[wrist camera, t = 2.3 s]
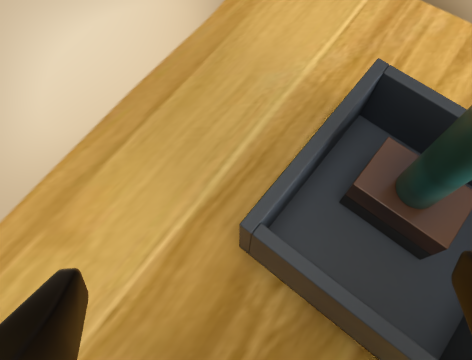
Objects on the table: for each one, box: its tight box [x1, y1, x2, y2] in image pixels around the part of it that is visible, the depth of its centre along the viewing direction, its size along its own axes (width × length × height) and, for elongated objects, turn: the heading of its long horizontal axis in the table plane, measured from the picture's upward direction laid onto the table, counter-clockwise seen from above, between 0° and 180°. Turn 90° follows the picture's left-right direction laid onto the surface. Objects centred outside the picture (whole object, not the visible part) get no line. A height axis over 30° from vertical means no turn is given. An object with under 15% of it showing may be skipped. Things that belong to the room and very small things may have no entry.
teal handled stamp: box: [339, 105, 472, 260], centre depth 19 cm, size 6×4×12 cm, turn 51°
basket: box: [239, 58, 472, 360], centre depth 22 cm, size 14×14×5 cm
